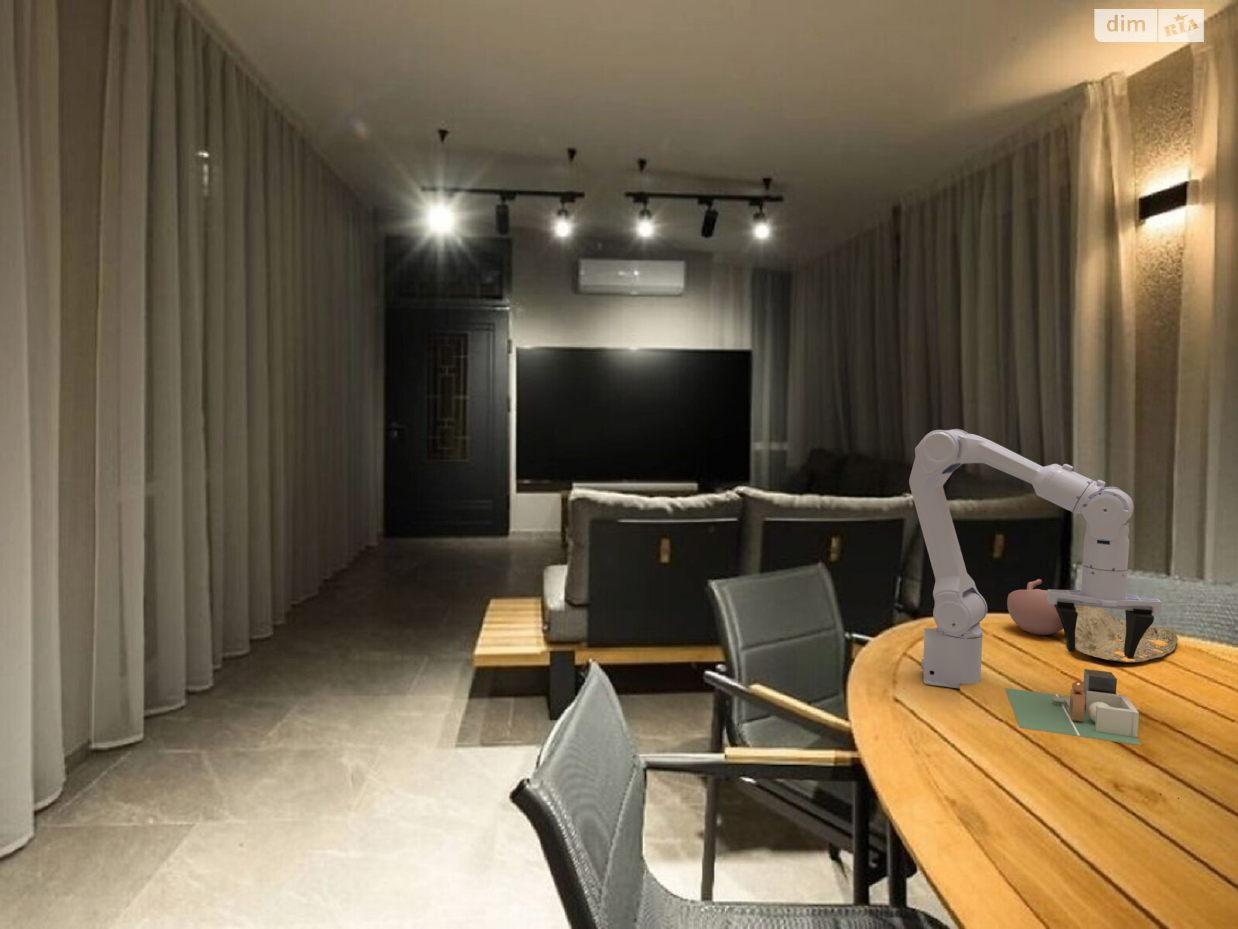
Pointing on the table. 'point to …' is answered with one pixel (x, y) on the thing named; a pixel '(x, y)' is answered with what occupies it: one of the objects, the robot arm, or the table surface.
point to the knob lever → (1078, 693)
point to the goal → (1114, 714)
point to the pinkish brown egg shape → (1034, 610)
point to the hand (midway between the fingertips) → (1099, 653)
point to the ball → (1093, 709)
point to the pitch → (1055, 717)
